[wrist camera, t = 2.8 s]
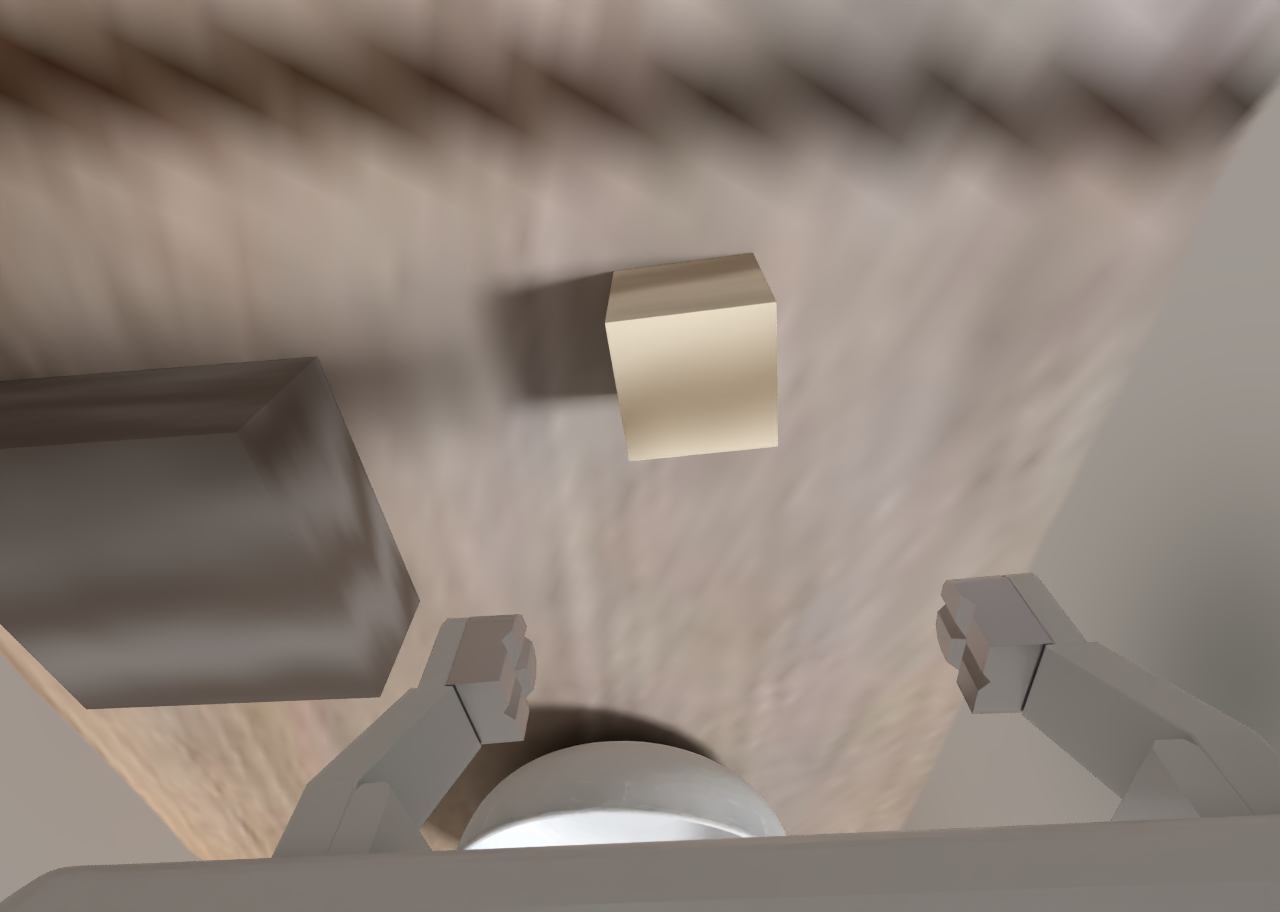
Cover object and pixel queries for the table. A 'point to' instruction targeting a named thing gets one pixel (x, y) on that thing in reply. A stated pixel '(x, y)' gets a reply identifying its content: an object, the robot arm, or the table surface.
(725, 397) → the birch cube
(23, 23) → the table surface
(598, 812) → the serving bowl
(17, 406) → the charcoal riser block
